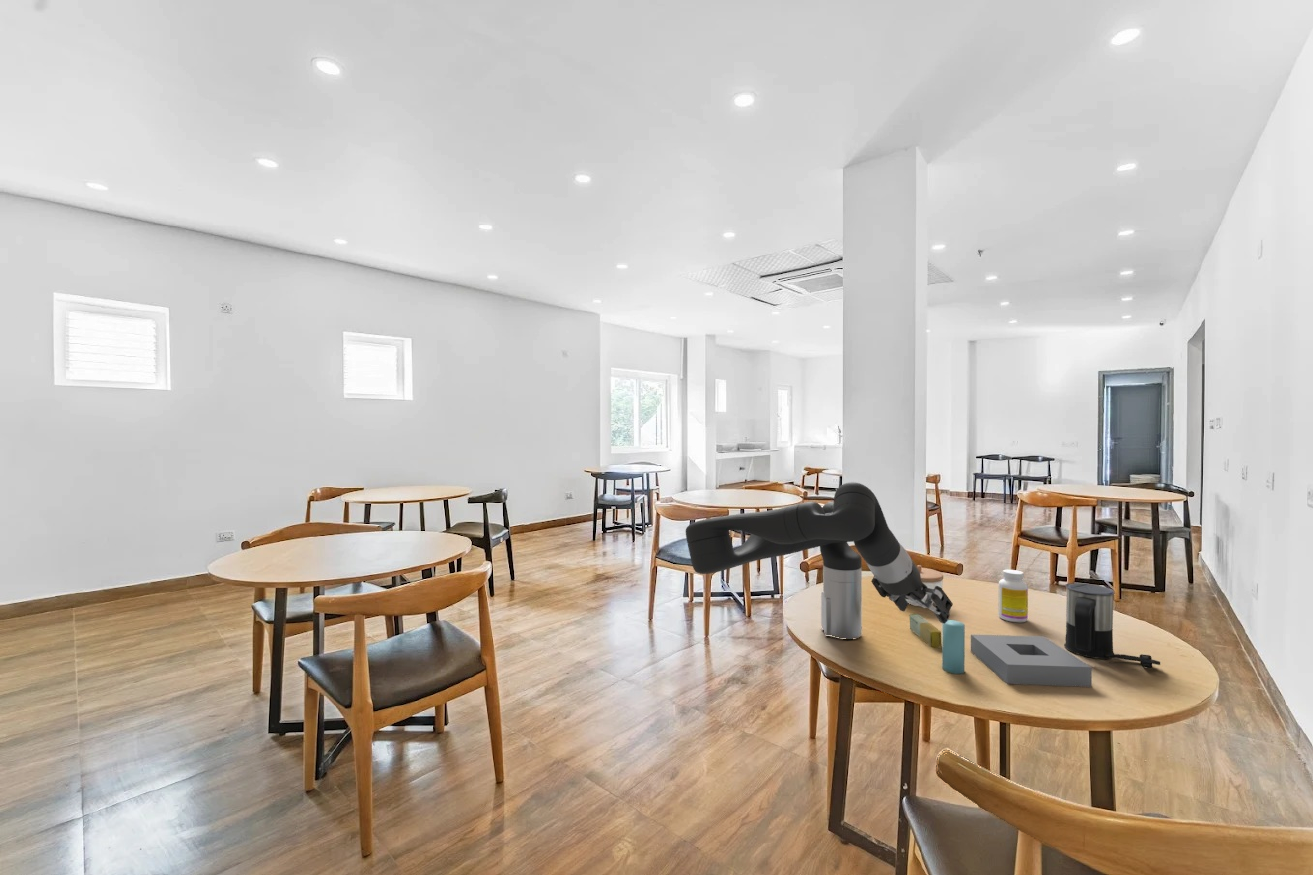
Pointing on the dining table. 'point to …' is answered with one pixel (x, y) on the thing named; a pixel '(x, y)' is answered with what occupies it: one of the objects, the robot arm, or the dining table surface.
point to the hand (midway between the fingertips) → (924, 613)
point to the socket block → (1030, 660)
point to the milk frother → (1093, 623)
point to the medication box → (925, 630)
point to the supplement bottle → (1013, 597)
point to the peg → (953, 647)
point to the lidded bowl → (928, 581)
